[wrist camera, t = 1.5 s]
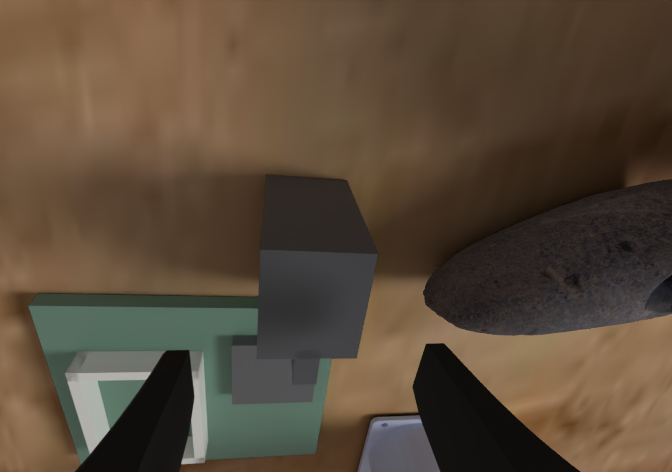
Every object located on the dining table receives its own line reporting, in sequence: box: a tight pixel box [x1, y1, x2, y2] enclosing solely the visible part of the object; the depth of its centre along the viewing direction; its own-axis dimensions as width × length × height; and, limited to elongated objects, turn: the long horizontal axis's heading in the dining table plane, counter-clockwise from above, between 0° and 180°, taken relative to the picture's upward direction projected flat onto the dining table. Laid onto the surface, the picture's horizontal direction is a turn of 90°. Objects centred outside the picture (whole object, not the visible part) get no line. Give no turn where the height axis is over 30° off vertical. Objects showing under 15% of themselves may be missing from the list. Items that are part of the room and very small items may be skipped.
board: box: [28, 293, 332, 464], centre depth 24 cm, size 16×14×2 cm
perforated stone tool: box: [423, 179, 672, 336], centre depth 19 cm, size 15×5×7 cm, turn 105°
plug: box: [256, 175, 378, 385], centre depth 17 cm, size 4×6×7 cm, turn 173°
